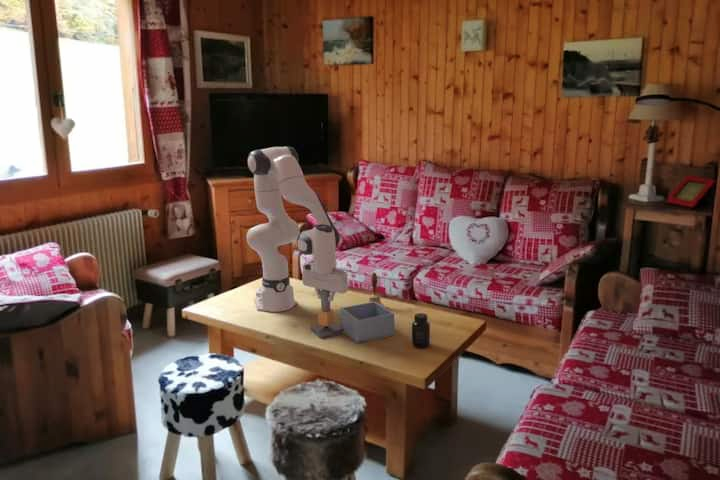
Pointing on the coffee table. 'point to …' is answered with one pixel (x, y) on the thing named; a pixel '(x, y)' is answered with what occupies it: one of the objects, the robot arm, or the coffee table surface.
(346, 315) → the bin
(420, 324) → the supplement bottle
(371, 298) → the hand bell
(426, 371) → the coffee table surface
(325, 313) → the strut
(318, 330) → the ball stud base
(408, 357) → the coffee table surface
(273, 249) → the robot arm
